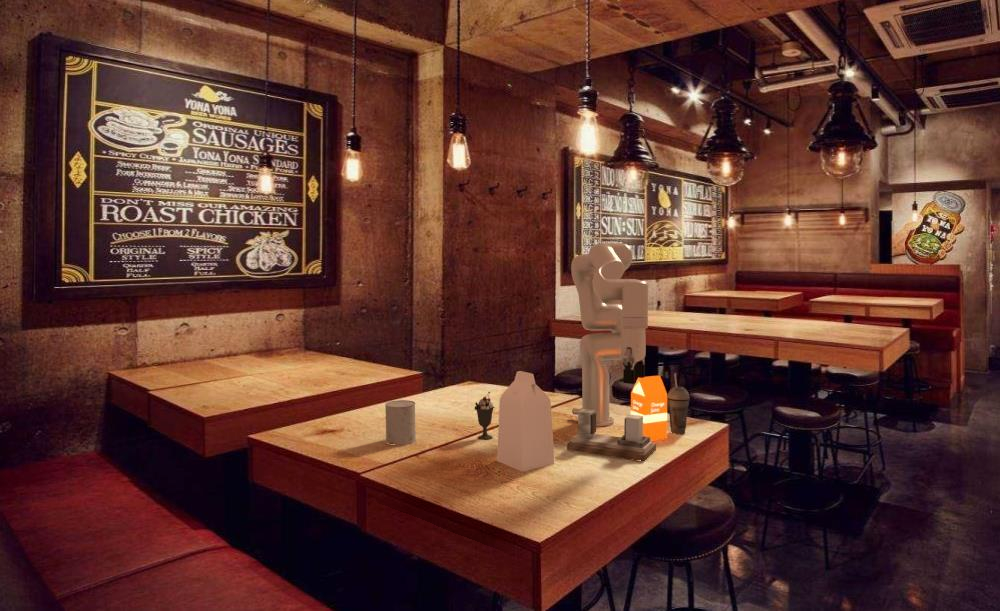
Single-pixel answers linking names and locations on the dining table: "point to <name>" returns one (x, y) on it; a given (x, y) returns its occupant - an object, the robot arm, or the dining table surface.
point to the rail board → (606, 441)
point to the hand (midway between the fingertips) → (634, 380)
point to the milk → (525, 425)
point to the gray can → (400, 422)
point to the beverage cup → (678, 408)
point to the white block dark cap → (633, 428)
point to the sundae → (484, 416)
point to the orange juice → (651, 406)
